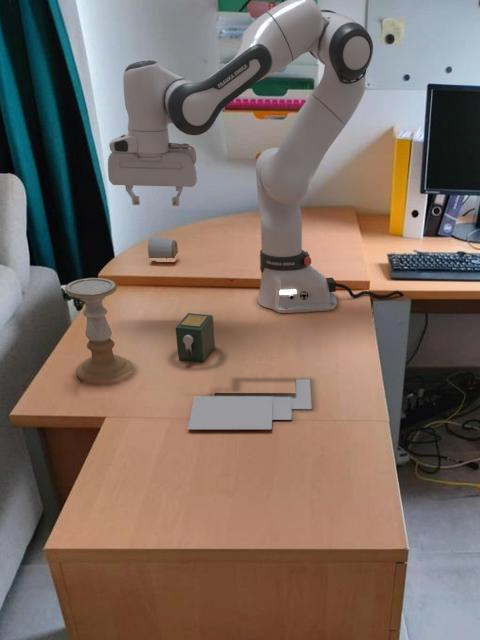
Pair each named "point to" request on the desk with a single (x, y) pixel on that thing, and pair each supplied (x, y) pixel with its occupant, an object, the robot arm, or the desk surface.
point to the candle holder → (97, 330)
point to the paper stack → (248, 408)
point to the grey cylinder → (162, 248)
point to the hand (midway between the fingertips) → (156, 205)
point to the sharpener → (195, 337)
